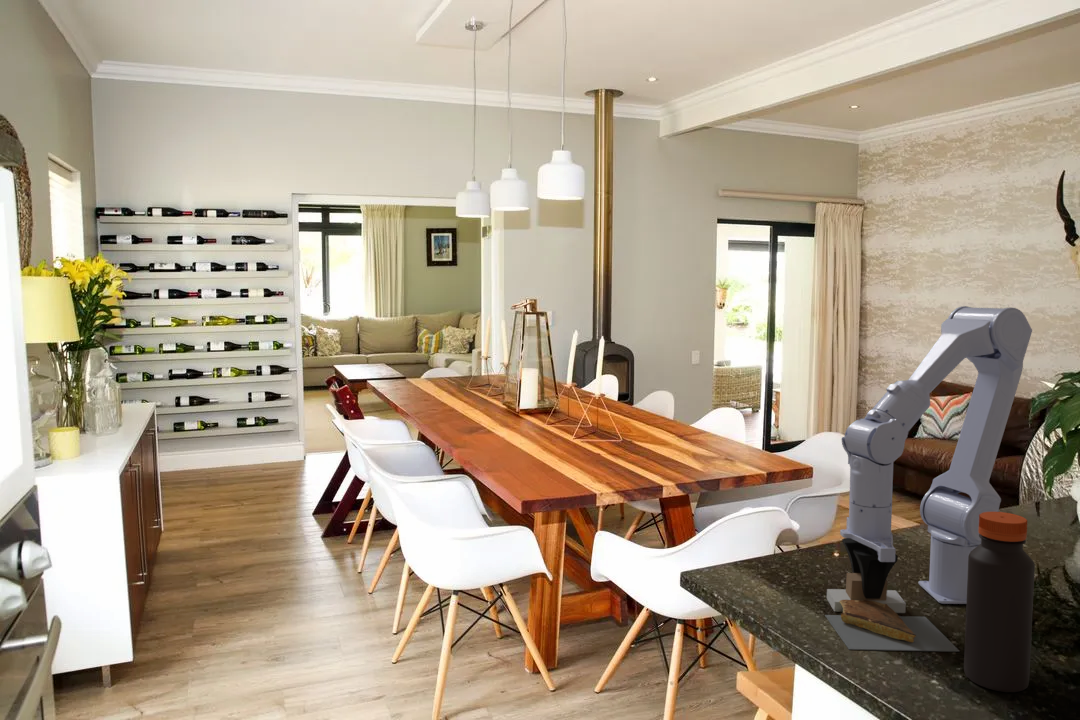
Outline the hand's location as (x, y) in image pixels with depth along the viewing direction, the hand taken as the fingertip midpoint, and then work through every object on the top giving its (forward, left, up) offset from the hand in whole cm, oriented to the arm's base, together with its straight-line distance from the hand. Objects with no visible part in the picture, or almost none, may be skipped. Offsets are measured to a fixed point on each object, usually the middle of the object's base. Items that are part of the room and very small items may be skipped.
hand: (867, 592), depth 114 cm
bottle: (-8, +21, -2) cm, 22 cm away
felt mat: (0, +8, -2) cm, 9 cm away
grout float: (0, 0, -2) cm, 2 cm away
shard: (0, +6, -2) cm, 6 cm away
